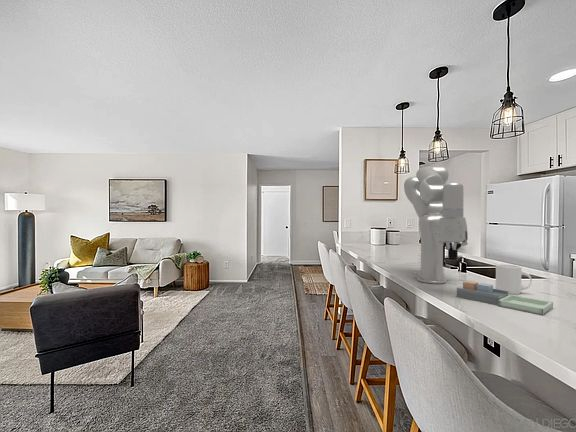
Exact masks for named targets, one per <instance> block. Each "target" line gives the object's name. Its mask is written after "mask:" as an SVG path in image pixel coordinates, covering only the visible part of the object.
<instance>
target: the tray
mask: <svg viewBox="0 0 576 432" xmlns="http://www.w3.org/2000/svg"><path fill="white" fill-rule="evenodd" d="M497 307H500V308H506V309H509V310H516V311H520V312H525V313H528V314H529V313H530V314H534V315H540V316H544V315H546V314H547V313H548V312H549V311H551V310H553V309H554V302H553V301H549V300H548V301H547V300H541V299H536V298H531V297H525V296H524V297H523V296H518V295H515V294H508V296H506V297H504V298H502V299H500V300H498V305H497Z"/></svg>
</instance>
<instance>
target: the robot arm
mask: <svg viewBox="0 0 576 432" xmlns="http://www.w3.org/2000/svg"><path fill="white" fill-rule="evenodd" d="M448 180H449V171H448V169H447V168H446V167H444V166H423V167H420V168H419V169H417V171H416V174H415V176H410V177H408V178H406V179H405V181H404V183H403V191H404V194H405V196H406V198H407V200H408V201H409V203H411V204H412V207H413V208H414V210H415V213H416V215H417V217H418V218H419V220H418V228H419V234H420V235H419V236H420V270H417V269H414V270H413V275H415V276H416V275H418V276H417V277H416V279H417V281H418V282H421V283H427V284H435V285H436V284H437V285H439V284H440V285H441V284H442V285H443V284H445V283H447V279H446V278H444V277H443V274H444V272H443V271H444V269H443V268H444V246H445V248H446V249H447V256H448V260H452V261H456V260H457V259H458V257H459V256H458V252H459V251H458V250H460V248H461V247H465V246H467V245H469V243H468V240H469V239H468V238H469V237H468V235H469V234H468V225H467V220H466V217H464V185H463V184H462V183H460V182H448V183H447V181H448Z"/></svg>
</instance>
